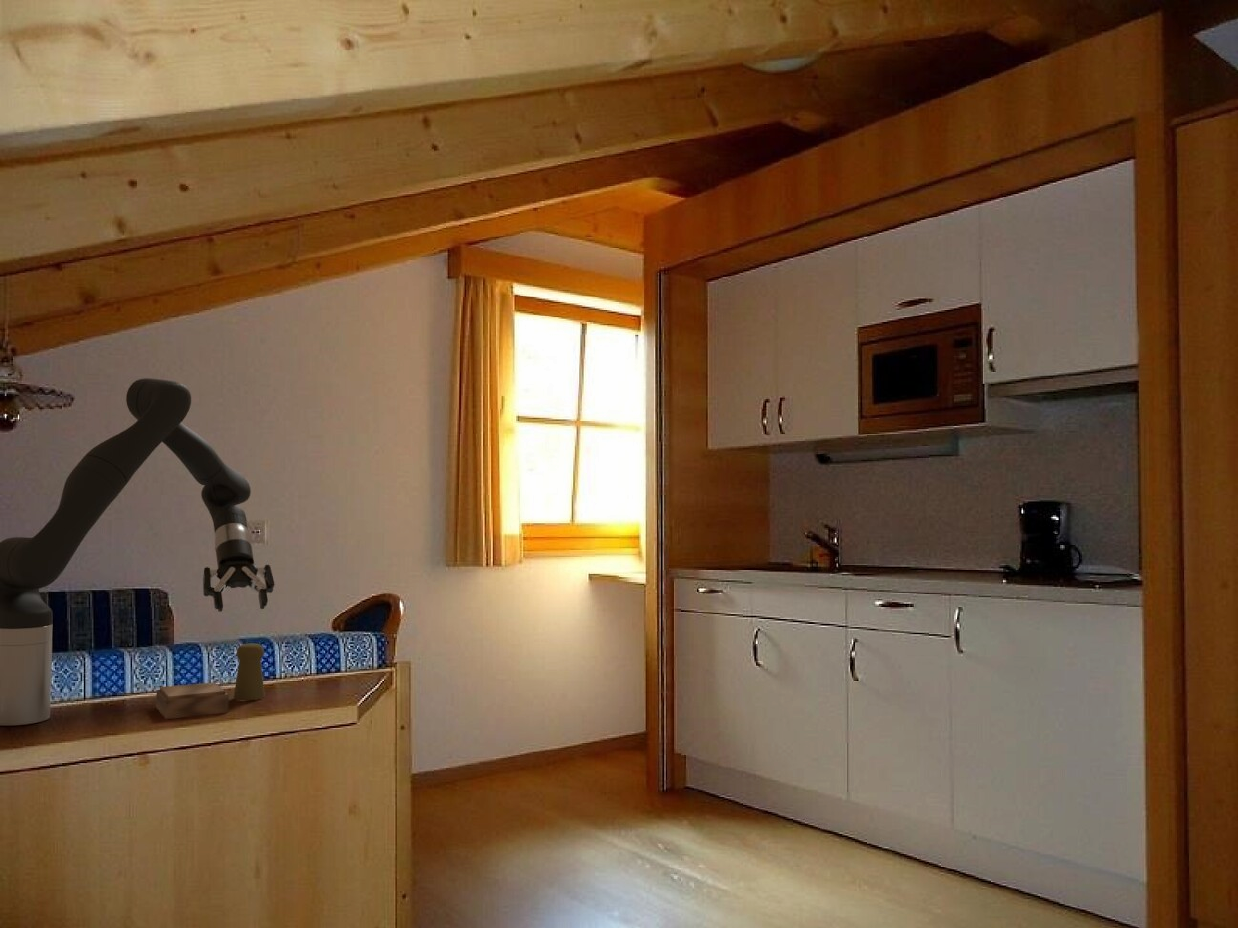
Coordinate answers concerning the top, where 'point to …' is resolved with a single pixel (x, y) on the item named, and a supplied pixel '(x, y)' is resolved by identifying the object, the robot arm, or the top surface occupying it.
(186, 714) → the plinth
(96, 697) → the top surface
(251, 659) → the cork
